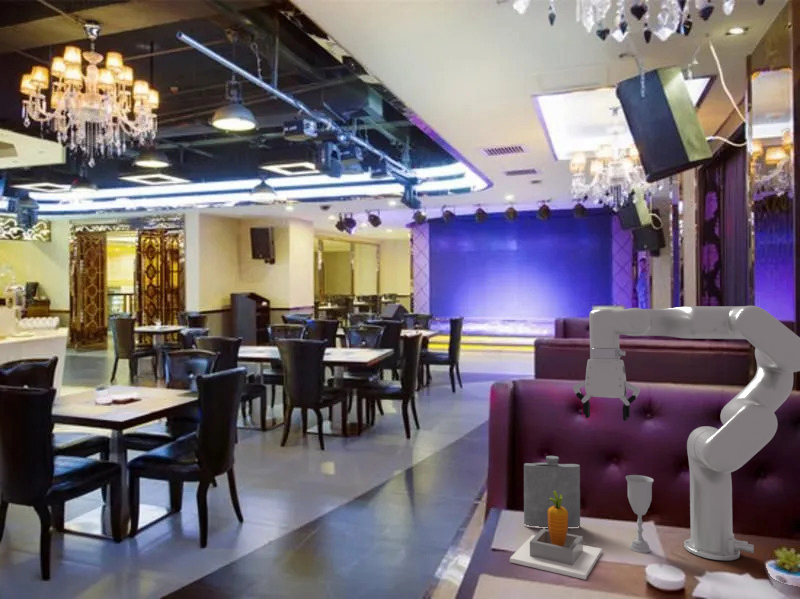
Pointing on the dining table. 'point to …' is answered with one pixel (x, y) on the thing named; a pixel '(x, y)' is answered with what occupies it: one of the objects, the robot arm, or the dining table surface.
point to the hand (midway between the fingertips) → (606, 418)
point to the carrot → (557, 521)
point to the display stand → (557, 555)
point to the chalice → (639, 506)
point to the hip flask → (551, 491)
